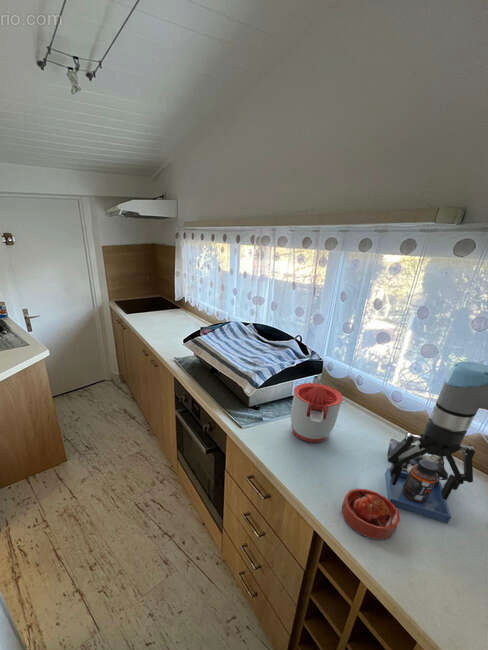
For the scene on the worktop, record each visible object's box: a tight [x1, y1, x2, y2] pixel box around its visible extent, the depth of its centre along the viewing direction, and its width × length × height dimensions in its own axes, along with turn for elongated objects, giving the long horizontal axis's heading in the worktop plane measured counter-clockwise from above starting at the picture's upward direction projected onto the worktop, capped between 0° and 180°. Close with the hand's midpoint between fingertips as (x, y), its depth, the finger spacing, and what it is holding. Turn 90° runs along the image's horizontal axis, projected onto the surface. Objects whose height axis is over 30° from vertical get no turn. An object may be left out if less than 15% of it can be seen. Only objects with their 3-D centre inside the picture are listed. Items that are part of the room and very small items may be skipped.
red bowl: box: [341, 488, 401, 540], centre depth 79 cm, size 12×12×4 cm
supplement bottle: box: [402, 460, 438, 502], centre depth 83 cm, size 6×6×11 cm
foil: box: [387, 438, 449, 481], centre depth 94 cm, size 12×11×15 cm
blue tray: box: [384, 467, 453, 525], centre depth 85 cm, size 13×13×3 cm
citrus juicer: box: [290, 382, 344, 444], centre depth 107 cm, size 16×17×20 cm
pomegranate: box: [354, 490, 389, 526], centre depth 78 cm, size 7×7×10 cm
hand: (417, 488), depth 85 cm, fingers open, 11 cm apart
